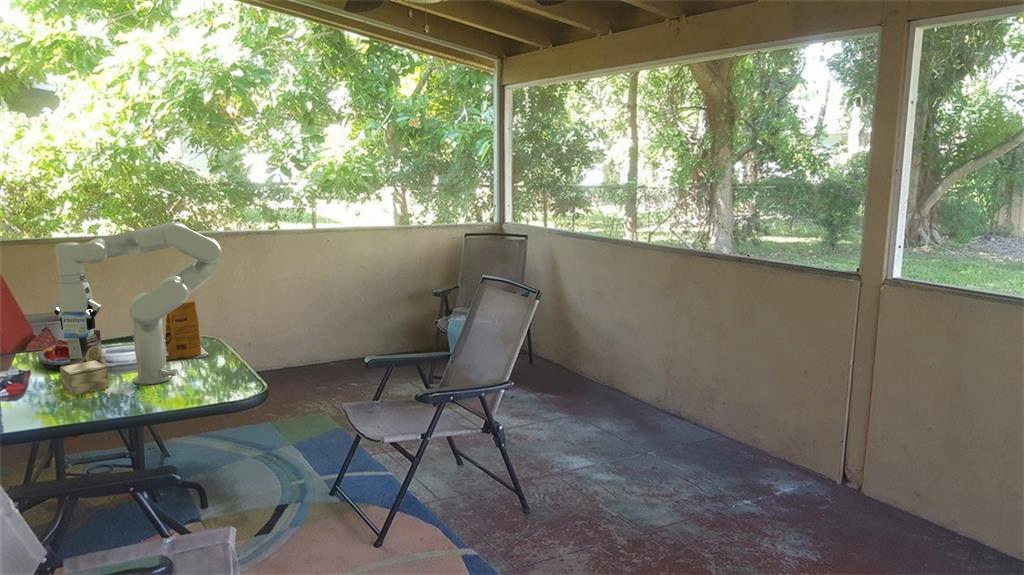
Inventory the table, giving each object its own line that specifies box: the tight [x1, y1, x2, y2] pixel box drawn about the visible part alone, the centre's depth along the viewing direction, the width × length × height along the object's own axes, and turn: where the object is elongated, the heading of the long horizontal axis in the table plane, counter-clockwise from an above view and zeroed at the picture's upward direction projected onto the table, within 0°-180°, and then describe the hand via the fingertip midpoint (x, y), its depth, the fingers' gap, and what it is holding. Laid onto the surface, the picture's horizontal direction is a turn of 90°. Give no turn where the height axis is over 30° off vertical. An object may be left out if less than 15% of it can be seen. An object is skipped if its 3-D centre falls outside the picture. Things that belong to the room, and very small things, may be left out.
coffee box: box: [67, 329, 105, 365], centre depth 259 cm, size 9×6×16 cm
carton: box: [59, 368, 110, 397], centre depth 244 cm, size 11×12×7 cm
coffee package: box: [164, 299, 202, 360], centre depth 283 cm, size 10×12×22 cm
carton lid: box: [60, 361, 107, 375], centre depth 243 cm, size 11×12×1 cm
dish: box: [37, 344, 70, 371], centre depth 275 cm, size 16×31×5 cm, turn 35°
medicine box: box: [61, 312, 95, 339], centre depth 240 cm, size 8×4×9 cm, turn 98°
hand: (78, 328), depth 241 cm, fingers closed on medicine box, 8 cm apart
